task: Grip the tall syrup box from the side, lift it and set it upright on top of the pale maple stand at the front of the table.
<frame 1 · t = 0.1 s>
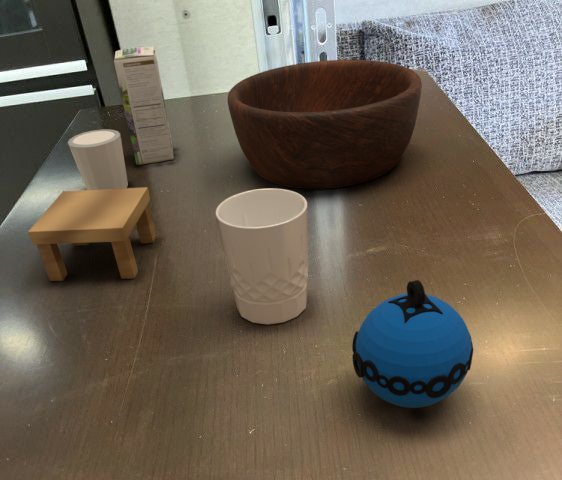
syrup box: (156, 157, 95), on the table
ornament: (409, 395, 48), on the table
white cup: (272, 306, 60), on the table
stand: (105, 258, 70), on the table
wooden bowl: (326, 163, 87), on the table
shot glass: (108, 189, 86), on the table
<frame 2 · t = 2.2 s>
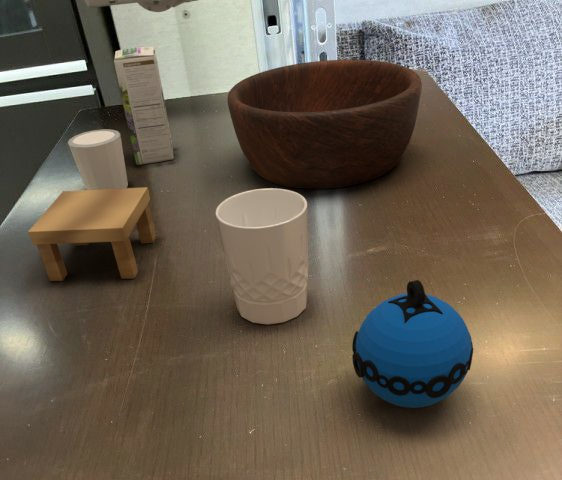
nothing on the table moved.
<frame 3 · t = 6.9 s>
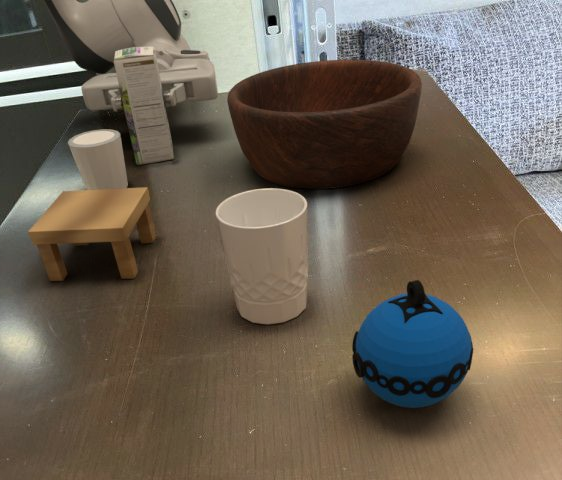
hand: (143, 103, 89), 8 cm above the table, tool horizontal, fingers closed on syrup box, 6 cm apart
syrup box: (156, 157, 95), on the table, touching gripper
everything else where it was.
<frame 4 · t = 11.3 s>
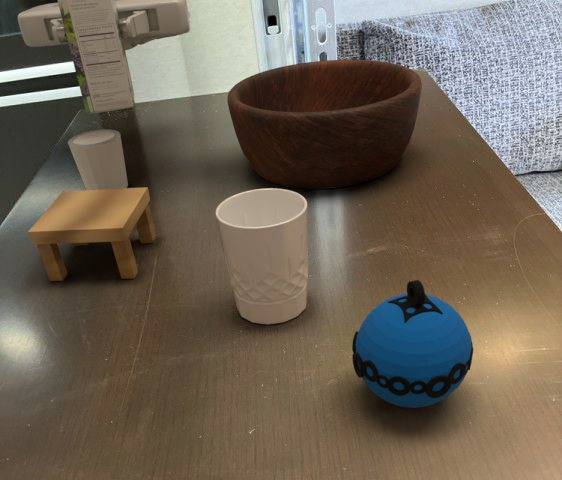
hand: (92, 33, 70), 20 cm above the table, tool horizontal, fingers closed on syrup box, 6 cm apart
syrup box: (112, 106, 76), point 12 cm above the table, touching gripper
everything else where it was.
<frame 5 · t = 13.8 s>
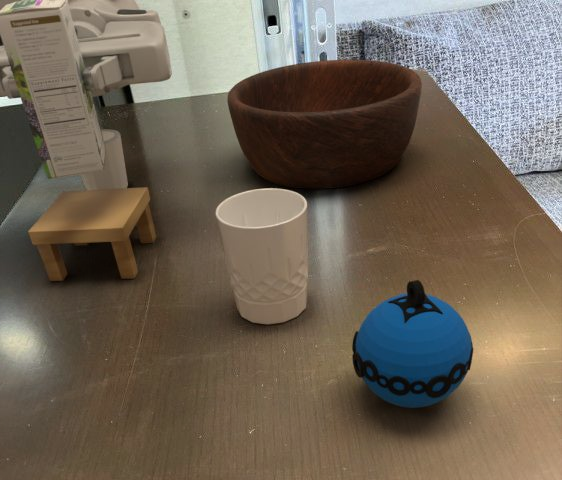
hand: (51, 85, 58), 18 cm above the table, tool horizontal, fingers closed on syrup box, 6 cm apart
syrup box: (79, 167, 64), point 10 cm above the table, touching gripper
everything else where it was.
when the fingers open (14 cm above the table, at t = 15.7 s): syrup box stays where it is, resting on stand.
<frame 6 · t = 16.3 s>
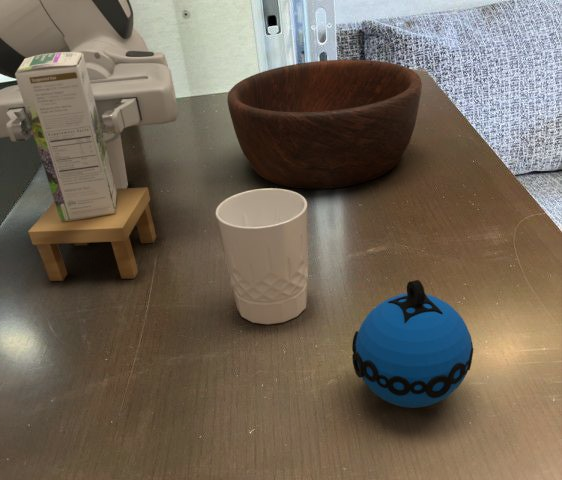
hand: (63, 129, 60), 15 cm above the table, tool horizontal, fingers open, 8 cm apart
syrup box: (92, 209, 66), point 6 cm above the table, touching stand
everything else where it was.
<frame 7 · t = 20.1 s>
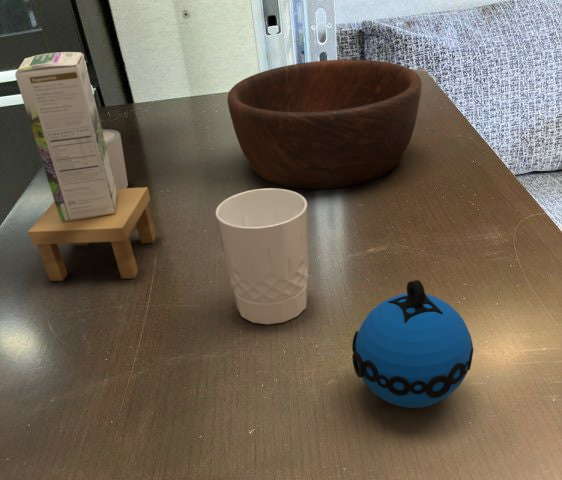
nothing on the table moved.
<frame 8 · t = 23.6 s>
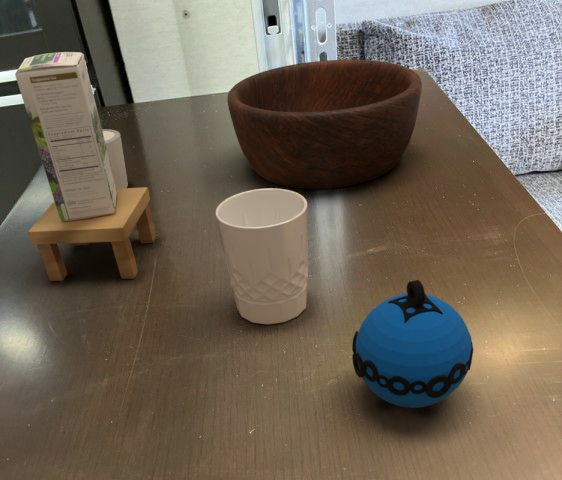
nothing on the table moved.
at the end: syrup box inside the target area on the stand (0.1 cm from its centre), point 5.8 cm above the stand's base; syrup box tilted 0°; the gripper is holding nothing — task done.
